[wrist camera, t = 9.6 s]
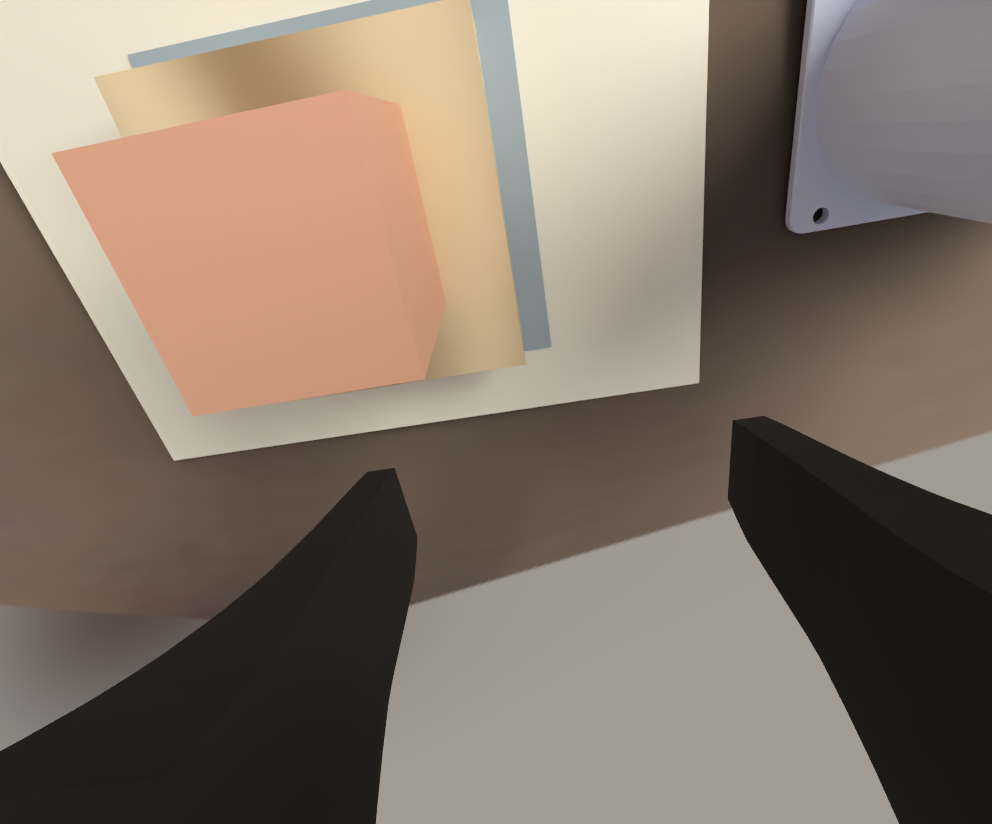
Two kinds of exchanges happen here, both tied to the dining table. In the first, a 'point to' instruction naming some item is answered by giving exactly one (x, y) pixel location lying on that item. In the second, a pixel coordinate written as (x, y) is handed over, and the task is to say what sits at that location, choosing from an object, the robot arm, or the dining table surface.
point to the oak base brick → (431, 132)
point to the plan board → (522, 178)
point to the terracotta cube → (271, 248)
